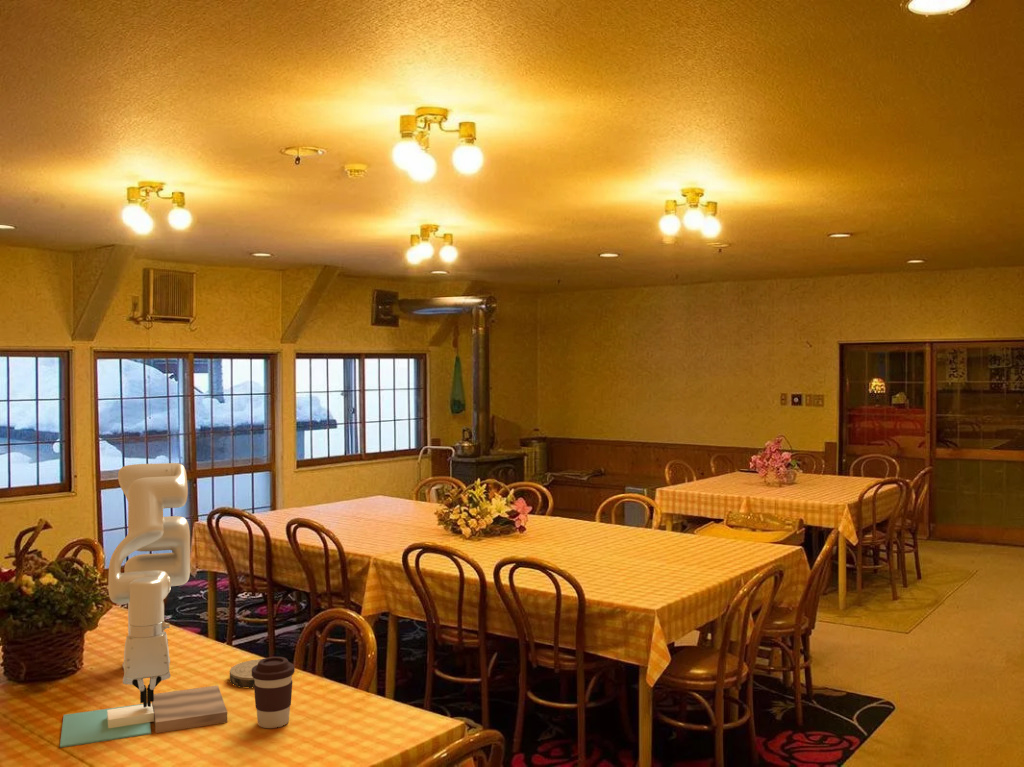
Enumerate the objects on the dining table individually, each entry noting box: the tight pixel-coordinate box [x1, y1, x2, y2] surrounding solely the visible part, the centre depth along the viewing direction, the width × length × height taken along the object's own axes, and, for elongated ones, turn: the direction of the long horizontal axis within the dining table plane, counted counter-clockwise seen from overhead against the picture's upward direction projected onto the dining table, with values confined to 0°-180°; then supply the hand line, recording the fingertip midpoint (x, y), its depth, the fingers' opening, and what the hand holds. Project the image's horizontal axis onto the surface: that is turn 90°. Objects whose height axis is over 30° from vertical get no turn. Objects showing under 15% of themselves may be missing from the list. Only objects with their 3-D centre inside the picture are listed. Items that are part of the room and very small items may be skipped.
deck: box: [151, 684, 228, 734], centre depth 224 cm, size 20×16×2 cm
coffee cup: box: [252, 656, 296, 729], centre depth 218 cm, size 10×10×15 cm
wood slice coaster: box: [229, 658, 263, 689], centre depth 250 cm, size 16×16×3 cm
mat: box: [59, 703, 152, 748], centre depth 217 cm, size 20×19×1 cm
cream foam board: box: [107, 702, 154, 728], centre depth 219 cm, size 7×10×2 cm
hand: (147, 705), depth 220 cm, fingers closed
